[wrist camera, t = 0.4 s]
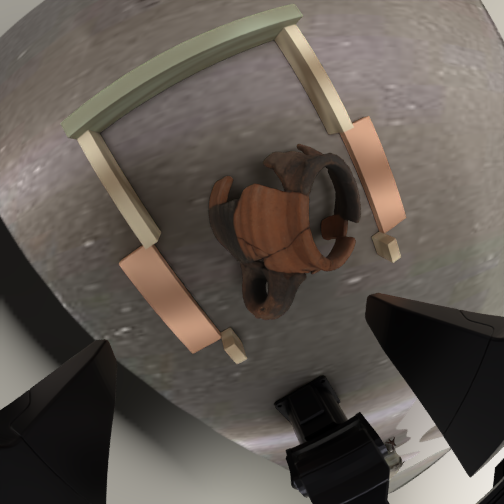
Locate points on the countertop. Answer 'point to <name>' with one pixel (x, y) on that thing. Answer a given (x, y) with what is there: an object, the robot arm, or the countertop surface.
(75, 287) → the countertop surface
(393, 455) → the decorative bird
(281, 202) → the pottery mug
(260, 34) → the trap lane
